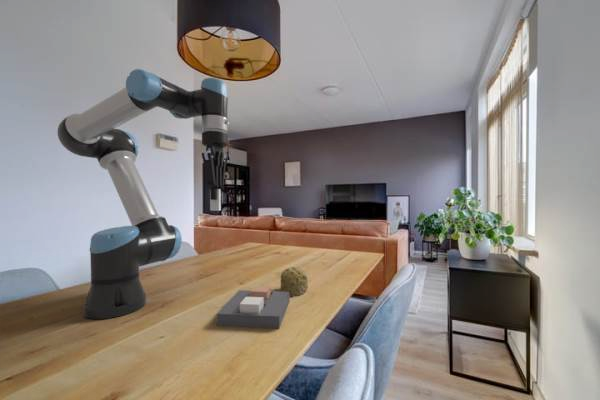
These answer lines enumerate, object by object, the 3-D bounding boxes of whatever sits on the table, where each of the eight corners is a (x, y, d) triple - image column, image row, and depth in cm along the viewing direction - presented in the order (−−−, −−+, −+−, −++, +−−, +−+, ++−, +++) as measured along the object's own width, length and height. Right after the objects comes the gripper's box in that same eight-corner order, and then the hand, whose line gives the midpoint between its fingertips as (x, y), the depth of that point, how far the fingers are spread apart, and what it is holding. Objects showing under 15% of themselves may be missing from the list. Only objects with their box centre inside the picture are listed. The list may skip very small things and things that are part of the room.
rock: (276, 301, 92) (270, 281, 87) (290, 277, 100) (285, 257, 95) (301, 308, 88) (296, 287, 83) (313, 282, 96) (310, 262, 91)
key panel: (216, 325, 67) (216, 313, 67) (239, 299, 84) (239, 290, 84) (279, 328, 65) (279, 316, 65) (289, 301, 82) (289, 291, 82)
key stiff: (250, 303, 77) (250, 291, 77) (254, 296, 82) (254, 285, 82) (267, 304, 76) (267, 291, 76) (270, 297, 81) (270, 286, 81)
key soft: (239, 317, 68) (239, 303, 68) (245, 309, 73) (245, 296, 73) (258, 318, 67) (258, 304, 67) (263, 310, 72) (263, 297, 72)
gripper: (218, 126, 74) (218, 211, 74) (234, 137, 87) (235, 209, 87) (192, 127, 75) (193, 211, 75) (212, 137, 87) (213, 209, 88)
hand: (215, 210), depth 81 cm, fingers closed
